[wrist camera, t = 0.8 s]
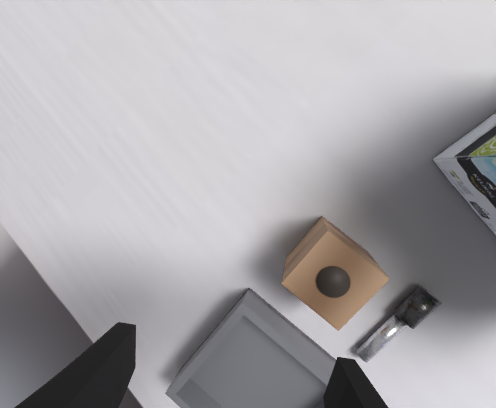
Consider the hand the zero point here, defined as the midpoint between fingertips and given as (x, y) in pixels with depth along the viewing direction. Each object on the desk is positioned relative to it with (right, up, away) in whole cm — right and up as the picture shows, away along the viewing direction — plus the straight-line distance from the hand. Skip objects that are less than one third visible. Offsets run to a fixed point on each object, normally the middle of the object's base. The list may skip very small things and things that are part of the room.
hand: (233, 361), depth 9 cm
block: (+8, +1, +14) cm, 16 cm away
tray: (+2, -11, +17) cm, 20 cm away
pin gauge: (+13, -4, +14) cm, 20 cm away
